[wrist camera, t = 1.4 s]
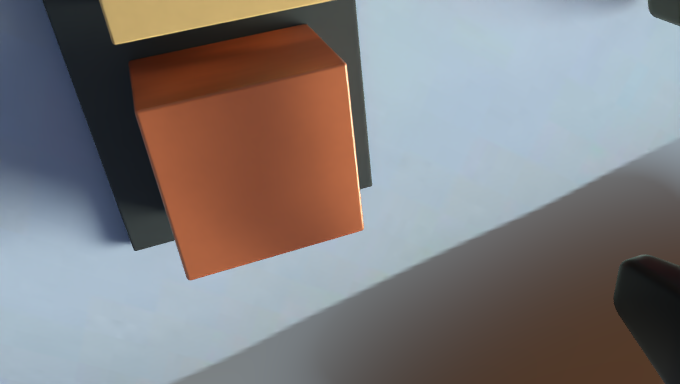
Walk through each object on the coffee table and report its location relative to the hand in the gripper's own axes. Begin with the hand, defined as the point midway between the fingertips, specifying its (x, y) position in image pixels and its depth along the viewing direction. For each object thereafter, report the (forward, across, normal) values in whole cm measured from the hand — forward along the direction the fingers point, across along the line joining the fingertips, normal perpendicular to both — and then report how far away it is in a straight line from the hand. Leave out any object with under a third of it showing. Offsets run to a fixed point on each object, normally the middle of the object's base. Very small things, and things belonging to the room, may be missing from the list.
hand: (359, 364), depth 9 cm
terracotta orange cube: (+11, 0, +1) cm, 11 cm away
